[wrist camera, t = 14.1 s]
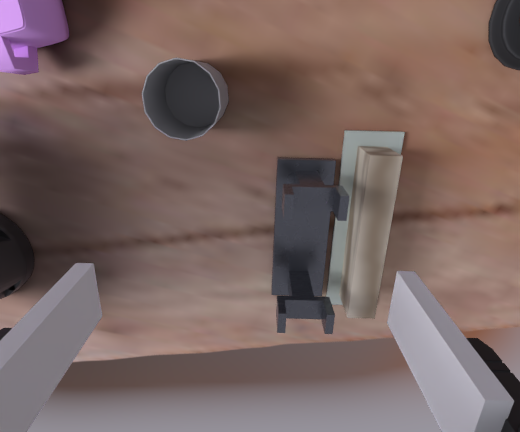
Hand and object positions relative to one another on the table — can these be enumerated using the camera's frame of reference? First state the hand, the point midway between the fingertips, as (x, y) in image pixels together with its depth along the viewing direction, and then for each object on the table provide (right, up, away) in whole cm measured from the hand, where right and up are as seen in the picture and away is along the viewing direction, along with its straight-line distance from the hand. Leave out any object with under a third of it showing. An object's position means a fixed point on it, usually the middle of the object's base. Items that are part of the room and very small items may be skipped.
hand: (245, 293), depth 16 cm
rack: (+7, +1, +39) cm, 40 cm away
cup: (-8, +19, +32) cm, 38 cm away
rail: (+16, +2, +38) cm, 41 cm away
